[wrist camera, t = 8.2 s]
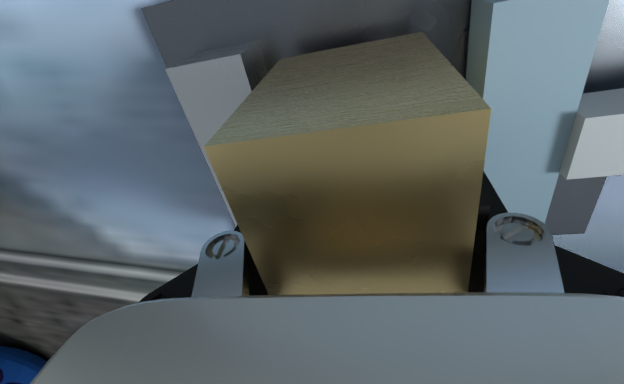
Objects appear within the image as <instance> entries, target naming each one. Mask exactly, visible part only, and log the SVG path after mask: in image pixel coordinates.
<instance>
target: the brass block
mask: <svg viewBox="0 0 624 384" xmlns="http://www.w3.org/2000/svg"><path fill="white" fill-rule="evenodd" d="M490 116H491V108H490V107H489V105H488V104H487V103H486V102H485V101H484V100H483V99H482V98H481V97H480V95H479V94H478V93H477V92H476V91H475V90H474V89H473V88H472V87H471V85H470V84H469V83H468V82H467V81H466V80H465V79H464V78H463V77H462V75H461V74H460V73H459V72H458V71H457V70H456V69H455V68H454V67H453V65H452V64H451V63H450V62H449V61H448V60H447V59H446V58H445V57H444V55H443V54H442V53H441V52H440V51H439V50H438V49H437V48H436V47H435V45H434V44H433V43H432V42H431V41H430V40H429V39H428V38H427V37H426V35H425V34H424V33H423V32H418V33H413V34H407V35H402V36H397V37H392V38H386V39H381V40H376V41H371V42H365V43H360V44H355V45H350V46H344V47H339V48H334V49H328V50H323V51H318V52H313V53H307V54H302V55H297V56H292V57H286V58H281V59H280V60H279V61H278V62H277V63H276V64H275V66H274V67H273V68H272V69H271V70H270V71H269V72H268V74H267V75H266V76H265V77H264V78H263V79H262V80H261V82H260V83H259V84H258V85H257V86H256V87H255V88H254V90H253V91H252V92H251V93H250V94H249V95H248V96H247V98H246V99H245V100H244V101H243V102H242V103H241V104H240V106H239V107H238V108H237V109H236V110H235V111H234V112H233V113H232V115H231V116H230V117H229V118H228V119H227V120H226V121H225V123H224V124H223V125H222V126H221V127H220V128H219V129H218V131H217V132H216V133H215V134H214V135H213V136H212V137H211V139H210V140H209V141H208V142H207V143H206V144H205V145H204V149H205V151H206V154H207V156H208V158H209V161H210V163H211V165H212V167H213V170H214V172H215V174H216V176H217V179H218V181H219V183H220V186H221V188H222V190H223V192H224V195H225V197H226V199H227V201H228V204H229V206H230V208H231V210H232V213H233V215H234V217H235V220H236V222H237V224H238V226H239V229H240V231H241V233H242V235H243V238H244V240H245V242H246V245H247V247H248V249H249V251H250V254H251V256H252V258H253V260H254V263H255V265H256V267H257V269H258V272H259V274H260V276H261V279H262V281H263V283H264V285H265V288H266V290H267V292H268V294H269V295H300V294H367V293H459V292H468V287H469V279H470V271H471V263H472V256H473V248H474V240H475V232H476V225H477V217H478V209H479V201H480V193H481V186H482V178H483V170H484V162H485V155H486V147H487V139H488V131H489V123H490Z"/></svg>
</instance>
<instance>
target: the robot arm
mask: <svg viewBox="0 0 624 384" xmlns="http://www.w3.org/2000/svg"><path fill="white" fill-rule="evenodd" d="M30 384H624V274H623V273H621V272H618V271H616V270H614V269H611V268H609V267H606V266H604V265H601V264H599V263H596V262H594V261H592V260H589V259H587V258H584V257H582V256H579V255H577V254H575V253H572V252H570V251H567V250H565V249H562V248H560V247H557V246H555V245H554V242H553V237H552V233H551V231H550V229H549V228H548V227H547V226H546V225H545V224H544V223H543V222H542V221H540V220H538V219H536V218H534V217H532V216H529V215H526V214H520V213H508V211H507V209H506V208H505V206H504V204H503V203H502V201H501V199H500V198H499V196H498V194H497V193H496V191H495V189H494V187H493V186H492V184H491V182H490V181H489V179H488V177H487V176H486V174H485V172H484V171H483V178H482V186H481V193H480V201H479V209H478V217H477V225H476V232H475V240H474V248H473V256H472V263H471V271H470V279H469V287H468V292H459V293H367V294H300V295H269V294H268V292H267V290H266V288H265V285H264V283H263V281H262V279H261V276H260V274H259V272H258V269H257V267H256V265H255V263H254V260H253V258H252V256H251V254H250V251H249V249H248V247H247V245H246V242H245V240H244V238H243V235H242V233H241V231H240V229H239V226H238V224H237V226H236V228H235V230H234V231H225V232H222V233H219V234H217V235H215V236H213V237H212V238H211V239H209V240H208V241H207V242H206V243H205V244H204V246H203V248H202V250H201V253H200V258H199V263H198V264H197V265H195V266H194V267H192V268H190V269H189V270H187V271H185V272H184V273H182V274H180V275H179V276H177V277H176V278H174V279H172V280H171V281H169V282H167V283H166V284H164V285H163V286H161V287H159V288H158V289H156V290H154V291H153V292H151V293H149V294H148V295H147V296H145V297H144V298H143V299H142V300H141V301H140V302H139V303H136V304H132V305H128V306H124V307H122V308H119V309H116V310H113V311H110V312H108V313H105V314H103V315H101V316H99V317H97V318H95V319H93V320H91V321H89V322H88V323H86V324H85V325H84V326H82V327H81V328H80V329H78V330H77V331H76V332H75V333H74V334H73V335H72V336H71V337H70V338H69V339H68V340H67V341H66V342H65V343H64V344H63V345H62V346H61V347H60V348H59V350H58V351H57V352H56V353H55V354H54V355H53V356H52V357H51V358H50V359H49V360H48V361H47V362H46V364H45V365H44V366H43V368H42V369H41V370H40V371H39V373H38V374H37V375H36V376H35V378H34V379H33V380H32V381H31V382H30Z"/></svg>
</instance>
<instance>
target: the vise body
mask: <svg viewBox="0 0 624 384" xmlns="http://www.w3.org/2000/svg"><path fill="white" fill-rule="evenodd" d="M471 4H472V0H173V1H169V2H165V3H161V4H157V5H153V6H149V7H145V8H141V9H142V11H143V14H144V16H145V18H146V20H147V23H148V25H149V27H150V30H151V32H152V34H153V36H154V39H155V41H156V43H157V45H158V48H159V50H160V52H161V54H162V57H163V59H164V61H165V63H166V66H167V68H166V69H165V70H166V73H167V75H168V77H169V79H170V82H171V84H172V86H173V88H174V91H175V93H176V95H177V97H178V99H179V102H180V104H181V106H182V108H183V111H184V113H185V115H186V117H187V120H188V122H189V124H190V126H191V128H192V131H193V133H194V135H195V137H196V140H197V142H198V144H199V146H200V149H201V151H202V153H203V155H204V157H205V160H206V162H207V164H208V166H209V169H210V171H211V173H212V175H213V177H214V180H215V182H216V184H217V186H218V189H219V191H220V193H221V195H222V198H223V200H224V202H225V204H226V206H227V209H228V211H229V213H230V215H231V218H232V220H233V222H234V224H235V227H236V226H237V222H236V220H235V217H234V215H233V213H232V210H231V208H230V206H229V204H228V201H227V199H226V197H225V195H224V192H223V190H222V188H221V186H220V183H219V181H218V179H217V176H216V174H215V172H214V170H213V167H212V165H211V163H210V161H209V158H208V156H207V154H206V151H205V149H204V145H205V144H206V143H207V142H208V141H209V140H210V139H211V137H212V136H213V135H214V134H215V133H216V132H217V131H218V129H219V128H220V127H221V126H222V125H223V124H224V123H225V121H226V120H227V119H228V118H229V117H230V116H231V115H232V113H233V112H234V111H235V110H236V109H237V108H238V107H239V106H240V104H241V103H242V102H243V101H244V100H245V99H246V98H247V96H248V95H249V94H250V93H251V92H252V91H253V90H254V88H255V87H256V86H257V85H258V84H259V83H260V82H261V80H262V79H263V78H264V77H265V76H266V75H267V74H268V72H269V71H270V70H271V69H272V68H273V67H274V66H275V64H276V63H277V62H278V61H279V60H280V59H281V58H286V57H292V56H297V55H302V54H307V53H313V52H318V51H323V50H328V49H334V48H339V47H344V46H350V45H355V44H360V43H365V42H371V41H376V40H381V39H386V38H392V37H397V36H402V35H407V34H413V33H418V32H423V33H424V34H425V35H426V37H427V38H428V39H429V40H430V41H431V42H432V43H433V44H434V45H435V47H436V48H437V49H438V50H439V51H440V52H441V53H442V54H443V55H444V57H445V58H446V59H447V60H448V61H449V62H450V63H451V64H452V65H453V67H454V68H455V69H456V70H457V71H458V72H459V73H460V74H461V75H462V77H463V78H464V79H465V80H466V69H467V56H468V43H469V30H470V17H471ZM621 88H624V0H610V1H609V4H608V7H607V11H606V14H605V18H604V21H603V25H602V28H601V31H600V35H599V38H598V42H597V45H596V49H595V52H594V55H593V59H592V62H591V66H590V69H589V73H588V76H587V80H586V83H585V86H584V90H583V93H582V94H584V93H591V92H599V91H606V90H613V89H621ZM606 177H607V176H603V177H591V178H579V179H568V180H566V179H565V178H564V177H563V175H562V174H561V173H560V172H559V176H558V179H557V183H556V186H555V189H554V193H553V196H552V200H551V203H550V207H549V210H548V213H547V217H546V220H545V225H546V226H547V227H548V228H549V229H550V231H551V233H552V235H560V234H580V233H585V230H586V228H587V225H588V223H589V220H590V218H591V215H592V213H593V210H594V208H595V205H596V203H597V200H598V198H599V195H600V192H601V190H602V187H603V185H604V182H605V180H606Z"/></svg>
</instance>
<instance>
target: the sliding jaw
mask: <svg viewBox="0 0 624 384" xmlns="http://www.w3.org/2000/svg"><path fill="white" fill-rule="evenodd" d="M609 1H610V0H472V4H471V17H470V30H469V43H468V56H467V69H466V81H467V82H468V83H469V84H470V85H471V87H472V88H473V89H474V90H475V91H476V92H477V93H478V94H479V95H480V97H481V98H482V99H483V100H484V101H485V102H486V103H487V104H488V105H489V107H490V108H491V116H490V123H489V131H488V139H487V147H486V155H485V162H484V170H483V171H484V172H485V174H486V176H487V177H488V179H489V181H490V182H491V184H492V186H493V187H494V189H495V191H496V193H497V194H498V196H499V198H500V199H501V201H502V203H503V204H504V206H505V208H506V209H507V211H508V213H520V214H526V215H529V216H532V217H534V218H536V219H538V220H540V221H542V222H543V223H544V224H545V220H546V217H547V213H548V210H549V207H550V203H551V200H552V196H553V193H554V189H555V186H556V183H557V179H558V176H559V172H560V173H561V174H562V175H563V177H564V178H565V179H566V180H568V179H579V178H591V177H603V176H615V175H624V88H621V89H613V90H606V91H599V92H591V93H584V94H582V93H583V90H584V86H585V83H586V80H587V76H588V73H589V69H590V66H591V62H592V59H593V55H594V52H595V49H596V45H597V42H598V38H599V35H600V31H601V28H602V25H603V21H604V18H605V14H606V11H607V7H608V4H609Z"/></svg>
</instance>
